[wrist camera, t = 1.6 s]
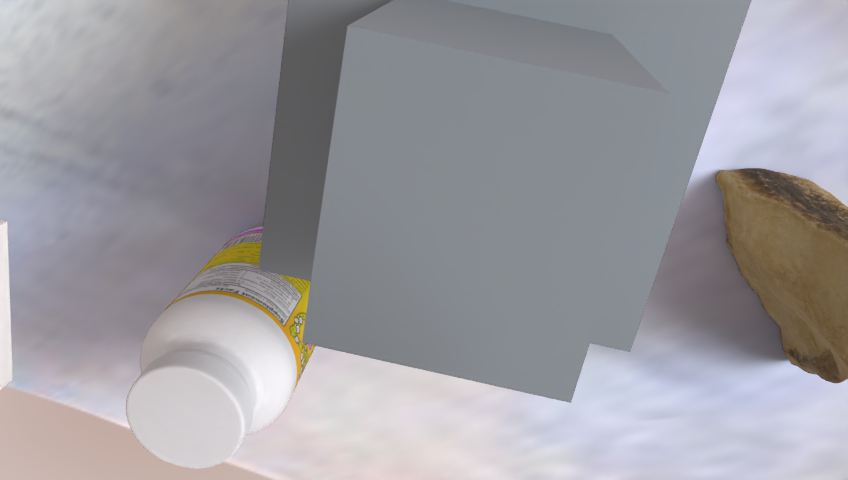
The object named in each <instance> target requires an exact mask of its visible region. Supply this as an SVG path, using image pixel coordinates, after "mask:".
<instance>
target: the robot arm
mask: <svg viewBox="0 0 848 480" xmlns="http://www.w3.org/2000/svg"><path fill="white" fill-rule="evenodd" d="M12 379H13V374H12V345H11V316H10V287H9V258H8V229H7V221H4V220H0V390H1V389H2V388H3V387H4V386H5V385H6V384H8V383H9V382H10V381H11V380H12Z"/></svg>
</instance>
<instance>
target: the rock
mask: <svg viewBox="0 0 848 480" xmlns="http://www.w3.org/2000/svg"><path fill="white" fill-rule="evenodd" d="M716 182H717V184H718V185H719V186H720V188H721V190H722V193H723V202H724V211H725V214H726V222H725V227H726V231H727V235H728V241H727V243H726V244H727V245H728V247H729V249H730V250H731V252H732V255H733V256H734V258H735V260H736V262H737V265H738V267H739V270H740V272H741V274H742V276H744V277H745V278H746V280H747V282H748V284H749V286H750V287H751V288H752V289H753V290H755V291H756V292H757V294H758V296H759V297H760V299H761V300H762V306H763V307H764V309H765V310H766V311H767V313H768V314H769V315H770V317H771V318H772V319H773V320H774V321H775V322H776V323H777V324H778V325H779V326H780V328H781V337H782V341H783V349H784V352H785V355H786V357H787V358H788V359H789V360H790V362H791V364H793V365H796V366H798V367H800V368H801V369H802V370H804V371H806V372H808V373H812V374H817V375H819V376H820V377H821V378H822V379H824V380H826V381H829V382H832V383H840V382H843V381H844V380H846V379H848V207H847V206H845V205H844V204H843V203H841V202H840V201H839V200H838V199H837V198H835V197H834V196H833V195H832V194H831V193H829V192H827V191H826V190H824V189H822V188H821V187H819V186H818V185H816V184H815V183H813V182H811V181H809V180H807V179H803V178H800V177H796V176H792V175H788V174H785V173H779V172H774V171H770V170H766V169H741V170H735V171H725V170H722V171H720V172H719V173H718V175H717V176H716Z"/></svg>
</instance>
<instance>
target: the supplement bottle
mask: <svg viewBox="0 0 848 480" xmlns="http://www.w3.org/2000/svg"><path fill="white" fill-rule="evenodd" d="M262 232H263V226H260V227H255V228H251V229H249V230H246V231H243V232H241V233H240V234H238V235H236V236H235V237H234V238H232V239H231V240H230V241H229V242H228V243H227V244H226V245H225V246H224V247H223V248H222V249H221V250H220V251H219V252H218V253H217V254H216V255H215V256H214V257H213V259H212V260H211V261H210V262H209V263H208V264H207V265H206V266H205V267H204V268H203V269H202V270H201V272H200V273H199V274H198V275H197V276H196V277H195V278H194V279H193V280H192V281H191V282H190V284H189V285H188V286H187V287H186V288H185V289H184V290H183V291H182V292H181V293H180V294H179V295H178V297H177V298H176V299H175V300H174V301H173V302H172V303H171V304H170V305H169V306H168V307H167V308H166V309H165V310H164V312H163V313H162V314H161V315H160V316H159V317H158V318H157V320H156V321H155V322H154V323H153V324H152V326H151V327H150V329H149V331H148V332H147V334H146V337H145V339H144V342H143V345H142V349H141V356H140V367H141V375H140V376H139V377H138V379H137V380H136V381H135V382H134V384H133V385H132V387H131V389H130V391H129V394H128V397H127V401H126V415H127V419H128V423H129V425H130V428H131V430H132V432H133V433H134V435H135V437H136V438H137V440H138V441H139V442H140V443H141V444H142V445H143V446H144V447H145V448H146V449H147V450H148V451H149V452H150V453H152V454H153V455H155V456H156V457H158V458H160V459H162V460H164V461H166V462H168V463H171V464H174V465H177V466H181V467H185V468H207V467H212V466H215V465H218V464H220V463H222V462H224V461H225V460H227V459H229V458H230V457H231V456H232V455H233V454H234V453H235V452H236V451H237V449H238V448H239V446H240V445H241V443H242V441H243V439H244V437H245V436H247V435H250V434H253V433H255V432H258V431H260V430H262V429H263V428H265V427H267V426H268V425H269V424H271V423H272V422H273V421H274V420H275V419H276V418H277V417H278V416H279V415H280V414H281V413H282V411H283V410H284V409H285V407H286V405H287V404H288V402H289V400H290V398H291V396H292V394H293V392H294V390H295V388H296V385H297V383H298V381H299V379H300V377H301V375H302V373H303V371H304V369H305V367H306V364H307V362H308V360H309V358H310V356H311V354H312V352H313V350H314V348H315V345H311V344H306V343H302V338H303V331H304V324H305V318H306V311H307V304H308V297H309V290H310V283H311V281H307V280H303V279H298V278H294V277H289V276H285V275H280V274H276V273H271V272H266V271H262V270H258V268H259V259H260V250H261V241H262Z"/></svg>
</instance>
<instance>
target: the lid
mask: <svg viewBox="0 0 848 480" xmlns="http://www.w3.org/2000/svg"><path fill="white" fill-rule="evenodd" d="M750 3H751V0H289V1H288V10H287V19H286V28H285V37H284V46H283V55H282V64H281V72H280V81H279V90H278V99H277V108H276V117H275V126H274V135H273V143H272V152H271V161H270V170H269V179H268V188H267V197H266V206H265V214H264V223H263V232H262V241H261V250H260V259H259V268H258V270H262V271H266V272H271V273H276V274H280V275H285V276H289V277H294V278H298V279H303V280H307V281H311V283H310V290H309V297H308V304H307V311H306V318H305V324H304V331H303V338H302V343H306V344H311V345H315V346H319V347H324V348H328V349H333V350H337V351H342V352H346V353H351V354H355V355H360V356H364V357H369V358H373V359H378V360H382V361H387V362H391V363H396V364H400V365H404V366H409V367H413V368H418V369H422V370H427V371H431V372H436V373H440V374H445V375H449V376H454V377H458V378H463V379H467V380H472V381H476V382H481V383H485V384H489V385H494V386H498V387H503V388H507V389H512V390H516V391H521V392H525V393H530V394H534V395H539V396H543V397H548V398H552V399H557V400H561V401H566V402H570V403H571V400H572V397H573V394H574V391H575V388H576V384H577V381H578V378H579V375H580V372H581V369H582V366H583V363H584V359H585V356H586V353H587V350H588V347H589V344H590V343H592V344H597V345H601V346H606V347H610V348H615V349H619V350H624V351H628V352H630V350H631V347H632V344H633V342H634V339H635V336H636V333H637V330H638V327H639V324H640V321H641V318H642V316H643V313H644V310H645V307H646V304H647V301H648V298H649V295H650V292H651V289H652V287H653V284H654V281H655V278H656V275H657V272H658V269H659V266H660V263H661V261H662V258H663V255H664V252H665V249H666V246H667V243H668V240H669V237H670V234H671V232H672V229H673V226H674V223H675V220H676V217H677V214H678V211H679V208H680V205H681V203H682V200H683V197H684V194H685V191H686V188H687V185H688V182H689V179H690V177H691V174H692V171H693V168H694V165H695V162H696V159H697V156H698V153H699V150H700V148H701V145H702V142H703V139H704V136H705V133H706V130H707V127H708V124H709V122H710V119H711V116H712V113H713V110H714V107H715V104H716V101H717V98H718V95H719V93H720V90H721V87H722V84H723V81H724V78H725V75H726V72H727V69H728V66H729V64H730V61H731V58H732V55H733V52H734V49H735V46H736V43H737V40H738V38H739V35H740V32H741V29H742V26H743V23H744V20H745V17H746V14H747V11H748V9H749V6H750Z"/></svg>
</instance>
